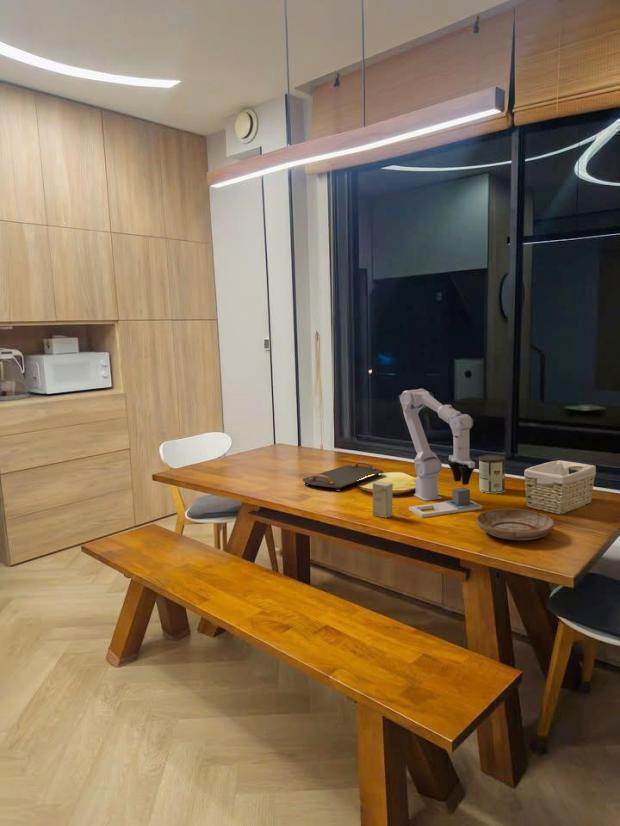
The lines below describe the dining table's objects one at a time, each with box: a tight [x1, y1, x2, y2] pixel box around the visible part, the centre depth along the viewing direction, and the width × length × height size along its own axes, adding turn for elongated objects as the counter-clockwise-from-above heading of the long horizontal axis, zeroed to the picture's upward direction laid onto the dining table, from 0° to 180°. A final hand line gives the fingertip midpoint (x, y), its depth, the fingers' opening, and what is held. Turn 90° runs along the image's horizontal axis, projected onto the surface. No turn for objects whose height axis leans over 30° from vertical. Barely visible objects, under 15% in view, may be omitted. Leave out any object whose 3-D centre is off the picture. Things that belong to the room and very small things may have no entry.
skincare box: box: [372, 480, 394, 519], centre depth 205 cm, size 6×4×12 cm
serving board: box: [302, 460, 385, 491], centre depth 257 cm, size 39×23×6 cm, turn 138°
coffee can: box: [478, 454, 506, 495], centre depth 230 cm, size 10×10×14 cm
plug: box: [451, 486, 471, 506], centre depth 211 cm, size 4×5×7 cm
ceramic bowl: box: [475, 508, 555, 542], centre depth 182 cm, size 23×24×5 cm
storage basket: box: [524, 460, 597, 515], centre depth 208 cm, size 24×16×15 cm
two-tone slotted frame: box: [408, 499, 483, 519], centre depth 209 cm, size 10×25×2 cm, turn 107°
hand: (461, 482), depth 210 cm, fingers open, 5 cm apart
